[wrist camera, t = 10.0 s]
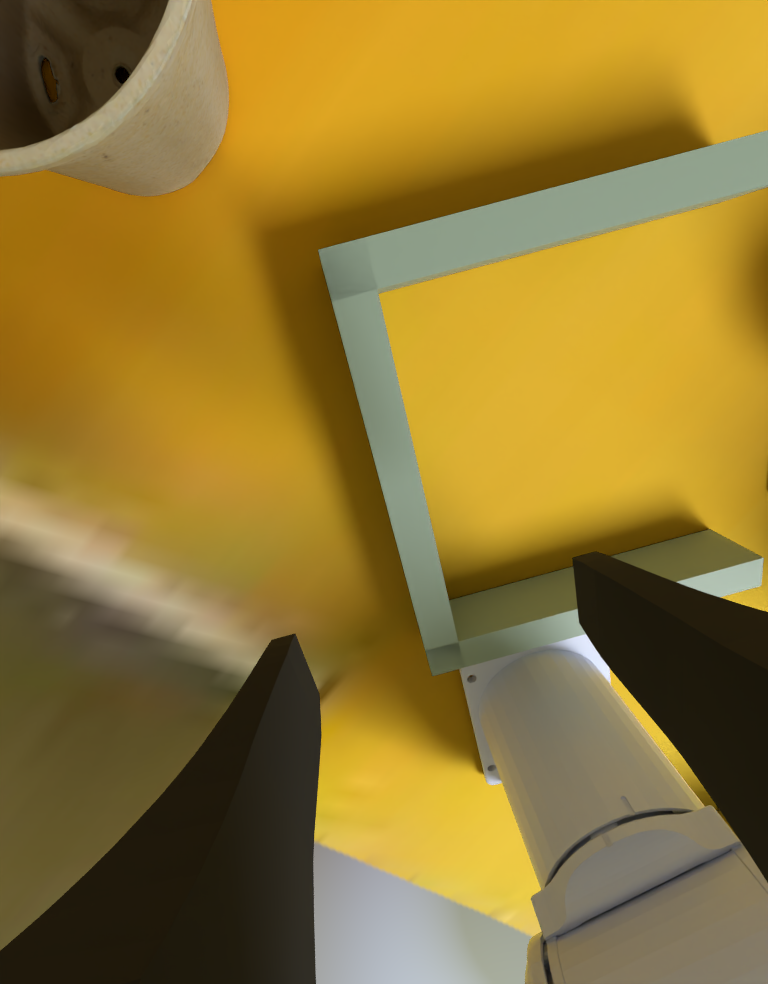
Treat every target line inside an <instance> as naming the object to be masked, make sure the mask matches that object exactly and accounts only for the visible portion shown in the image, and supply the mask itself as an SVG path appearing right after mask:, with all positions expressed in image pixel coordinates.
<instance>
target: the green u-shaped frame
mask: <svg viewBox="0 0 768 984" xmlns="http://www.w3.org/2000/svg"><path fill="white" fill-rule="evenodd" d="M766 187H768V131H764V132H760V133H757V134H753V135H749V136H745V137H741V138H738V139H734V140H730V141H726V142H723V143H719V144H715V145H711V146H708V147H704V148H700V149H696V150H692V151H689V152H685V153H681V154H677V155H674V156H670V157H666V158H662V159H658V160H655V161H651V162H647V163H643V164H640V165H636V166H632V167H628V168H625V169H621V170H617V171H613V172H609V173H606V174H602V175H598V176H594V177H591V178H587V179H583V180H579V181H576V182H572V183H568V184H564V185H560V186H557V187H553V188H549V189H545V190H542V191H538V192H534V193H530V194H527V195H523V196H519V197H515V198H511V199H508V200H504V201H500V202H496V203H493V204H489V205H485V206H481V207H478V208H474V209H470V210H466V211H462V212H459V213H455V214H451V215H447V216H444V217H440V218H436V219H432V220H428V221H425V222H421V223H417V224H413V225H410V226H406V227H402V228H398V229H395V230H391V231H387V232H383V233H379V234H376V235H372V236H368V237H364V238H361V239H357V240H353V241H349V242H346V243H342V244H338V245H334V246H330V247H327V248H323V249H319V250H318V252H319V256H320V261H321V265H322V269H323V272H324V276H325V280H326V283H327V287H328V291H329V295H330V298H331V302H332V306H333V310H334V313H335V317H336V321H337V324H338V328H339V332H340V336H341V339H342V343H343V347H344V350H345V354H346V358H347V362H348V365H349V369H350V373H351V377H352V380H353V384H354V388H355V391H356V395H357V399H358V403H359V406H360V410H361V414H362V418H363V421H364V425H365V429H366V432H367V436H368V440H369V444H370V447H371V451H372V455H373V459H374V462H375V466H376V470H377V473H378V477H379V481H380V485H381V488H382V492H383V496H384V500H385V503H386V507H387V511H388V514H389V518H390V522H391V526H392V529H393V533H394V537H395V541H396V544H397V548H398V552H399V555H400V559H401V563H402V567H403V570H404V574H405V578H406V582H407V585H408V589H409V593H410V596H411V600H412V604H413V608H414V611H415V615H416V619H417V622H418V626H419V630H420V634H421V637H422V641H423V644H424V648H425V652H426V655H427V659H428V662H429V666H430V670H431V673H432V676H435V675H439V674H443V673H446V672H450V671H454V670H457V669H461V668H464V667H468V666H472V665H475V664H479V663H483V662H486V661H490V660H493V659H497V658H501V657H504V656H508V655H512V654H515V653H519V652H523V651H526V650H530V649H533V648H537V647H541V646H544V645H548V644H552V643H555V642H559V641H563V640H566V639H570V638H573V637H577V636H581V635H584V634H586V633H585V632H584V630H583V628H582V627H581V625H580V624H579V618H578V608H577V598H576V589H575V579H574V569H573V567H569V568H566V569H562V570H558V571H555V572H551V573H547V574H544V575H540V576H536V577H533V578H529V579H525V580H522V581H518V582H514V583H511V584H507V585H503V586H500V587H496V588H492V589H489V590H485V591H482V592H478V593H474V594H471V595H467V596H463V597H460V598H456V599H452V600H449V599H448V594H447V590H446V585H445V581H444V577H443V572H442V568H441V564H440V559H439V555H438V551H437V546H436V542H435V538H434V533H433V529H432V525H431V520H430V516H429V512H428V507H427V503H426V499H425V494H424V490H423V486H422V481H421V477H420V473H419V468H418V464H417V460H416V455H415V451H414V447H413V442H412V438H411V434H410V429H409V425H408V421H407V416H406V412H405V408H404V403H403V399H402V395H401V390H400V386H399V382H398V377H397V373H396V369H395V364H394V360H393V356H392V351H391V347H390V343H389V338H388V334H387V330H386V325H385V321H384V317H383V312H382V308H381V304H380V299H379V295H378V294H379V293H382V292H386V291H390V290H394V289H398V288H401V287H405V286H409V285H413V284H416V283H420V282H424V281H428V280H431V279H435V278H439V277H443V276H446V275H450V274H454V273H458V272H461V271H465V270H469V269H473V268H476V267H480V266H484V265H488V264H491V263H495V262H499V261H503V260H506V259H510V258H514V257H518V256H521V255H525V254H529V253H533V252H536V251H540V250H544V249H548V248H551V247H555V246H559V245H563V244H566V243H570V242H574V241H578V240H581V239H585V238H589V237H593V236H596V235H600V234H604V233H608V232H611V231H615V230H619V229H623V228H626V227H630V226H634V225H638V224H641V223H645V222H649V221H653V220H656V219H660V218H664V217H668V216H671V215H675V214H679V213H683V212H686V211H690V210H694V209H698V208H701V207H705V206H709V205H713V204H716V203H720V202H723V201H726V200H729V199H732V198H735V197H738V196H742V195H745V194H748V193H751V192H754V191H757V190H760V189H763V188H766ZM610 557H613V558H616V559H618V560H621V561H623V562H626V563H628V564H631V565H633V566H636V567H638V568H641V569H643V570H646V571H648V572H651V573H654V574H656V575H659V576H661V577H664V578H666V579H669V580H672V581H674V582H677V583H680V584H682V585H685V586H688V587H691V588H693V589H696V590H699V591H702V592H705V593H708V594H711V595H714V596H717V597H723V596H726V595H730V594H733V593H737V592H741V591H744V590H748V589H752V588H755V587H759V586H761V583H762V571H763V559H764V558H763V557H761V556H759V555H757V554H755V553H754V552H752V551H750V550H748V549H746V548H744V547H742V546H741V545H739V544H737V543H735V542H733V541H731V540H729V539H727V538H726V537H724V536H722V535H720V534H718V533H716V532H714V531H713V530H711V529H708V530H705V531H701V532H697V533H694V534H690V535H686V536H683V537H679V538H675V539H672V540H668V541H664V542H661V543H657V544H653V545H650V546H646V547H642V548H639V549H635V550H631V551H628V552H624V553H620V554H617V555H613V556H610Z"/></svg>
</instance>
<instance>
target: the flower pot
mask: <svg viewBox="0 0 768 984" xmlns="http://www.w3.org/2000/svg"><path fill="white" fill-rule="evenodd" d="M44 58H47V59H48V60H49V62H50V67H51V70H52V74H53V77H54V78H55V79H56V80H58V83H59V84H57V83H56V91H57V96H58V99H57V100H56V101H55V102H53V103H52V102H50V99H49V96H48V94H47V91H46V87H45V84H44V80H43V77H42V72H41V64H42V61H43V59H44ZM120 67H124V68H125V69H126V70H127V71H128V72H129V74H130V77H129V78H128V79H127V81H126V82H125V83H122V84H121V83H120V82H119V81H118V80H117V78H116V76H115V73H116V70H117V69H119V68H120ZM228 107H229V90H228V80H227V73H226V67H225V63H224V59H223V55H222V52H221V47H220V43H219V39H218V34H217V29H216V25H215V19H214V14H213V9H212V4H211V0H0V176H12V175H21V174H27V173H32V172H38V171H42V170H49V171H52V172H56V173H59V174H63V175H66V176H69V177H73V178H76V179H80V180H83V181H86V182H90V183H93V184H97V185H100V186H104V187H107V188H110V189H113V190H116V191H119V192H122V193H126V194H131V195H138V196H157V195H162V194H166V193H170V192H173V191H176V190H179V189H181V188H183V187H185V186H187V185H188V184H190V183H191V182H193V181H194V180H195V179H196V178H197V177H198V175H199V174H200V173H201V172H202V171H203V169H204V168H205V167H206V166H207V164H208V163H209V162H210V160H211V159H212V157H213V156H214V154H215V152H216V151H217V149H218V147H219V145H220V143H221V141H222V138H223V135H224V133H225V128H226V124H227V117H228Z"/></svg>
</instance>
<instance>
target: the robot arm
mask: <svg viewBox="0 0 768 984" xmlns="http://www.w3.org/2000/svg"><path fill="white" fill-rule="evenodd" d="M572 559H573V569H574V579H575V589H576V598H577V608H578V618H579V624H580V625H581V627H582V628H583V630H584V632H585V633H586V634H584V635H581V636H577V637H573V638H570V639H566V640H563V641H559V642H555V643H552V644H548V645H544V646H541V647H537V648H533V649H530V650H526V651H523V652H519V653H515V654H512V655H508V656H504V657H501V658H497V659H493V660H490V661H486V662H483V663H479V664H475V665H472V666H468V667H464V668H461V669H459V670H460V674H461V679H462V683H463V687H464V691H465V696H466V700H467V704H468V708H469V712H470V717H471V721H472V725H473V729H474V734H475V738H476V742H477V746H478V751H479V755H480V759H481V763H482V767H483V772H484V776H485V779H486V782H487V783H488V784H490V785H496V784H499V783H502V784H503V786H504V789H505V792H506V794H507V797H508V800H509V803H510V805H511V808H512V811H513V814H514V816H515V819H516V822H517V824H518V827H519V830H520V833H521V835H522V838H523V841H524V844H525V846H526V849H527V852H528V854H529V857H530V860H531V863H532V865H533V868H534V871H535V873H536V876H537V879H538V882H539V884H540V887H541V891H540V892H538V893H536V894H534V895H533V896H532V897H531V901H532V904H533V907H534V910H535V913H536V916H537V919H538V921H539V924H540V927H541V930H542V932H540V933H538V934H536V935H535V936H533V937H532V938H531V939H530V941H529V944H528V948H527V965H526V972H525V984H768V612H766V611H762V610H758V609H755V608H751V607H748V606H745V605H741V604H738V603H735V602H732V601H729V600H726V599H723V598H720V597H717V596H714V595H711V594H708V593H705V592H702V591H699V590H696V589H693V588H691V587H688V586H685V585H682V584H680V583H677V582H674V581H672V580H669V579H666V578H664V577H661V576H659V575H656V574H654V573H651V572H648V571H646V570H643V569H641V568H638V567H636V566H633V565H631V564H628V563H626V562H623V561H621V560H618V559H616V558H613V557H610V556H608V555H605V554H602V553H599V552H592V553H588V554H585V555H581V556H577V557H574V558H572ZM610 669H611V670H612V671H613V673H614V674H615V675H616V676H617V677H618V679H619V680H620V681H621V682H622V684H623V685H624V686H625V687H626V688H627V689H628V691H629V692H630V693H631V694H632V695H633V697H634V698H635V699H636V700H637V701H638V703H639V704H640V705H641V706H642V707H643V709H644V710H645V711H646V712H647V713H648V715H649V716H650V717H651V718H652V719H653V720H654V722H655V723H656V724H657V725H658V726H659V728H660V729H661V730H662V731H663V732H664V734H665V735H666V736H667V737H668V738H669V740H670V741H671V742H672V744H673V745H674V746H675V747H676V749H677V750H678V751H679V753H680V754H681V755H682V756H683V758H684V759H685V761H686V762H687V764H688V765H689V766H690V768H691V769H692V771H693V772H694V774H695V775H696V776H697V778H698V779H699V781H700V782H701V784H702V785H703V786H704V788H705V789H706V791H707V792H708V794H709V795H710V796H711V798H712V799H713V801H714V802H715V804H716V805H717V807H718V808H719V810H720V811H721V813H722V814H723V816H724V817H725V819H726V820H727V822H728V823H729V825H730V826H731V828H732V829H733V831H734V832H735V834H736V835H737V836H736V835H735V834H734V832H733V831H732V830H731V829H730V827H729V826H728V825H727V824H726V822H725V821H724V820H723V818H722V817H721V816H720V815H719V813H718V812H717V811H716V810H715V808H714V807H713V806H711V805H708V806H706V807H705V806H704V805H703V803H702V802H701V801H700V799H699V798H698V797H697V796H696V794H695V793H694V792H693V790H692V789H691V788H690V787H689V785H688V784H687V783H686V781H685V780H684V779H683V777H682V776H681V775H680V774H679V772H678V771H677V770H676V768H675V767H674V766H673V765H672V763H671V762H670V761H669V759H668V758H667V757H666V755H665V754H664V753H663V752H662V750H661V749H660V748H659V746H658V745H657V744H656V743H655V741H654V740H653V739H652V737H651V736H650V735H649V733H648V732H647V731H646V730H645V728H644V727H643V726H642V724H641V723H640V722H639V721H638V719H637V718H636V717H635V715H634V714H633V713H632V711H631V710H630V709H629V708H628V706H627V705H626V704H625V702H624V701H623V700H622V699H621V697H620V696H619V695H618V693H617V692H616V691H615V689H614V688H613V687H612V686H611V682H610ZM470 675H473V676H472V677H468V676H470ZM320 748H321V713H320V696H319V692H318V689H317V687H316V684H315V682H314V679H313V677H312V674H311V672H310V669H309V667H308V664H307V662H306V659H305V657H304V654H303V652H302V649H301V647H300V644H299V642H298V639H297V637H296V634H292V635H288V636H285V637H281V638H277V639H274V640H271V642H270V643H269V645H268V647H267V648H266V650H265V651H264V653H263V654H262V656H261V658H260V659H259V661H258V662H257V664H256V666H255V667H254V669H253V670H252V672H251V674H250V675H249V677H248V678H247V680H246V682H245V683H244V685H243V686H242V688H241V689H240V691H239V692H238V694H237V695H236V697H235V698H234V700H233V702H232V703H231V705H230V706H229V708H228V709H227V711H226V712H225V713H224V715H223V716H222V718H221V719H220V720H219V722H218V723H217V725H216V726H215V727H214V729H213V730H212V732H211V733H210V734H209V736H208V737H207V739H206V740H205V741H204V743H203V744H202V746H201V747H200V748H199V749H198V751H197V752H196V753H195V755H194V756H193V757H192V759H191V760H190V761H189V762H188V764H187V765H186V766H185V767H184V769H183V770H182V771H181V772H180V773H179V775H178V776H177V777H176V778H175V779H174V781H173V782H172V783H171V784H170V785H169V787H168V788H167V789H166V790H165V791H164V792H163V794H162V795H161V796H160V797H159V798H158V799H157V800H156V802H155V803H154V804H153V805H152V806H151V807H150V808H149V809H148V810H147V811H146V812H145V813H144V814H143V815H142V817H141V818H140V819H139V820H138V821H137V822H136V823H135V824H134V825H133V826H132V827H131V828H130V829H129V831H128V832H127V833H126V834H125V835H124V836H123V837H122V838H121V839H120V840H119V841H118V842H117V843H116V844H115V845H114V846H113V847H112V848H111V849H110V851H108V852H107V853H106V854H105V855H104V856H103V857H102V858H101V859H100V860H99V861H98V862H97V863H96V864H95V865H94V866H93V867H92V868H91V869H90V870H89V871H88V872H87V873H86V874H85V875H84V876H83V877H82V878H81V879H80V880H79V881H78V882H77V883H76V884H75V885H73V886H72V887H71V888H70V889H69V890H68V891H67V892H66V893H65V894H64V895H63V896H62V897H61V898H60V899H59V900H58V901H56V902H55V903H54V904H53V905H52V906H51V907H50V908H49V909H48V910H47V911H45V912H44V913H43V914H42V915H41V916H40V917H39V918H38V919H37V920H35V921H34V922H33V923H32V924H31V925H30V926H28V927H27V928H26V929H25V930H24V931H23V932H22V933H20V934H19V935H18V936H17V937H16V938H15V939H13V940H12V941H11V942H10V943H9V944H8V945H7V946H5V947H4V948H3V949H2V950H1V951H0V984H316V977H315V976H316V975H315V939H314V895H313V894H314V887H313V849H314V830H315V817H316V803H317V790H318V777H319V763H320ZM738 838H739V839H738Z"/></svg>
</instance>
